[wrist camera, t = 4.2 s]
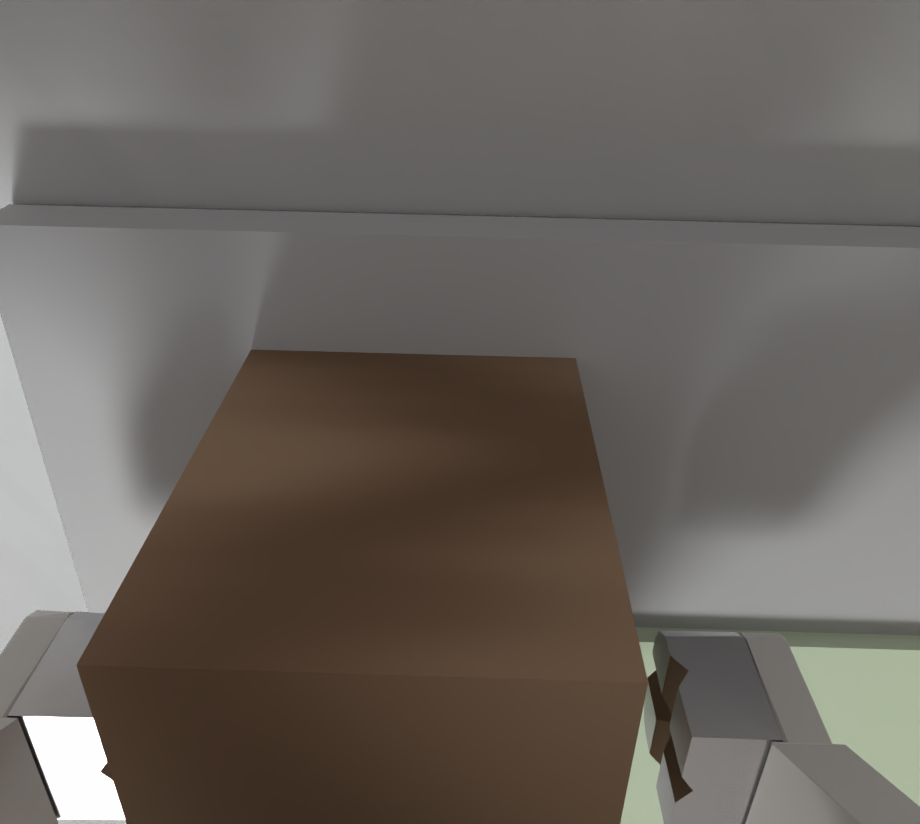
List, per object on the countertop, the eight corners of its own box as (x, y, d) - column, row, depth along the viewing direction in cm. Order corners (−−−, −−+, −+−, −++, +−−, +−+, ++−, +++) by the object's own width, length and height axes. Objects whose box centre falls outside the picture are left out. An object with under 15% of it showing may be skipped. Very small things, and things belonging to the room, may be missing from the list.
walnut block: (575, 357, 10) (648, 682, 6) (537, 733, 13) (563, 1106, 9) (250, 349, 10) (76, 665, 6) (298, 725, 14) (213, 1095, 9)
